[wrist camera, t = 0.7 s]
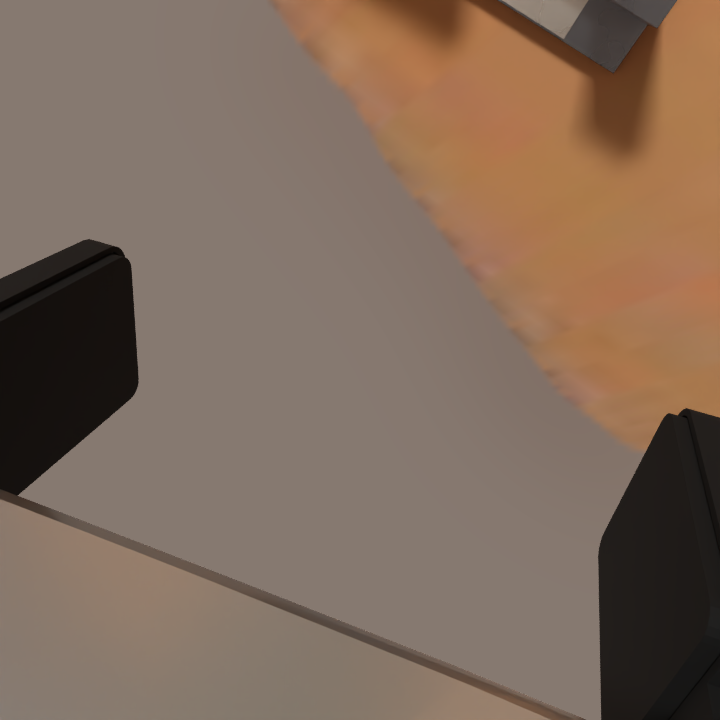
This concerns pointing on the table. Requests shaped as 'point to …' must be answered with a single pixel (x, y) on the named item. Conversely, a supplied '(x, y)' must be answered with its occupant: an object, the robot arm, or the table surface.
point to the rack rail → (595, 23)
